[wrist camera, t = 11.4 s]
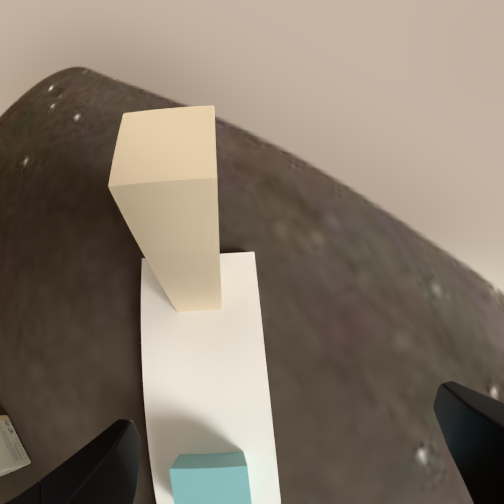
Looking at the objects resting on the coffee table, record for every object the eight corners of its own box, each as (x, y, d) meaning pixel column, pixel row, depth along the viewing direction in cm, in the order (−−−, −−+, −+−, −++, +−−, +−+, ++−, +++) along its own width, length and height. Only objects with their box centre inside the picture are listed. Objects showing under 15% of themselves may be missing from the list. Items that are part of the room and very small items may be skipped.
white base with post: (280, 519, 16) (354, 654, 2) (164, 525, 15) (94, 656, 2) (252, 257, 24) (285, 87, 10) (145, 263, 23) (65, 106, 9)
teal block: (249, 504, 16) (254, 527, 12) (187, 507, 15) (179, 530, 12) (243, 451, 17) (247, 465, 14) (179, 454, 17) (169, 468, 13)
